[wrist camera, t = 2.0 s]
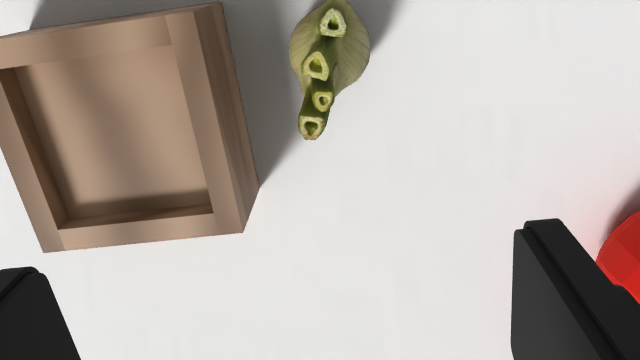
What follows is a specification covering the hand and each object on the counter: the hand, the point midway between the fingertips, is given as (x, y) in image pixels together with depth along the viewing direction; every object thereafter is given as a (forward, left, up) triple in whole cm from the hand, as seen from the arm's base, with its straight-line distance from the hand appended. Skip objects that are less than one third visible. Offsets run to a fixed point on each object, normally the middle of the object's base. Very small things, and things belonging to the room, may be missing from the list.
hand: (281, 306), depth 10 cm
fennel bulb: (-1, -1, -26) cm, 26 cm away
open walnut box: (+12, +2, -25) cm, 28 cm away
